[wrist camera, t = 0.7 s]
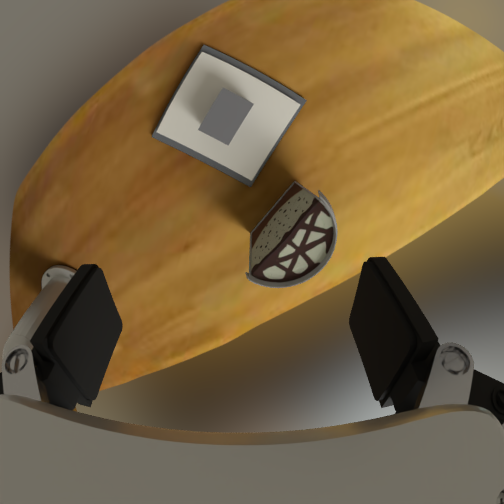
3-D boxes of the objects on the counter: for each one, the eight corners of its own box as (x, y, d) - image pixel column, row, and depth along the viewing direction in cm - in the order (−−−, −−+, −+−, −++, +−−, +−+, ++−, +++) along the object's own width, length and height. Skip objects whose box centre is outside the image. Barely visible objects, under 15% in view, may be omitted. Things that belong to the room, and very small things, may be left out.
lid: (251, 178, 34) (253, 191, 29) (158, 131, 30) (144, 136, 25) (298, 104, 30) (310, 104, 25) (203, 53, 26) (196, 43, 21)
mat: (250, 185, 35) (250, 187, 34) (152, 136, 31) (151, 136, 30) (305, 100, 30) (306, 100, 29) (204, 45, 26) (203, 44, 25)
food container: (277, 263, 41) (288, 308, 32) (243, 240, 39) (245, 283, 30) (335, 199, 36) (364, 232, 28) (302, 171, 34) (324, 196, 26)
